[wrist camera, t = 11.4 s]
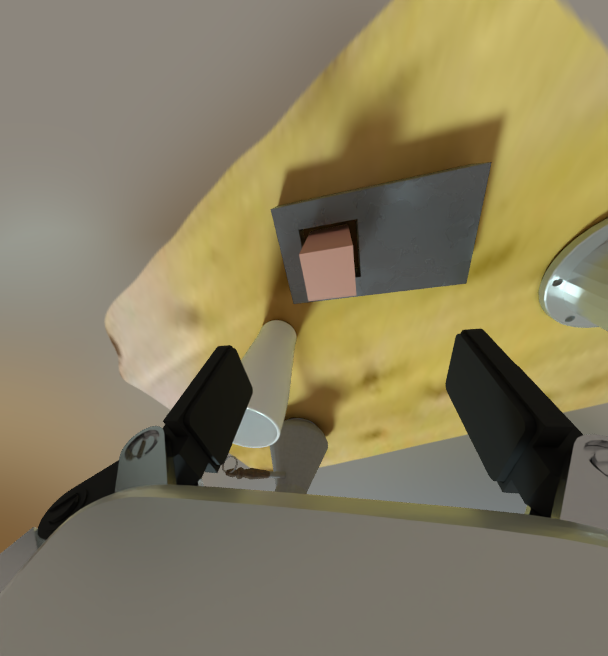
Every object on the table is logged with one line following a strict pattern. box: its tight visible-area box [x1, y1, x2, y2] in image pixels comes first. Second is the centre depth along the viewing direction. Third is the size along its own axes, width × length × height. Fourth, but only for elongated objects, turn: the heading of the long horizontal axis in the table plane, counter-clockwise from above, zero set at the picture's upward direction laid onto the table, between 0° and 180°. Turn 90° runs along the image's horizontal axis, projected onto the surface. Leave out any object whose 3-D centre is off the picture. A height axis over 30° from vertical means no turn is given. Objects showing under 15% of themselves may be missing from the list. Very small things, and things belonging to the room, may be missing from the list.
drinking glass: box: [233, 320, 297, 448], centre depth 26 cm, size 7×7×15 cm
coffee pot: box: [222, 418, 328, 494], centre depth 37 cm, size 21×12×15 cm, turn 26°
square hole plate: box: [271, 162, 491, 304], centre depth 23 cm, size 18×10×3 cm, turn 101°
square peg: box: [299, 224, 356, 301], centre depth 21 cm, size 4×4×9 cm
